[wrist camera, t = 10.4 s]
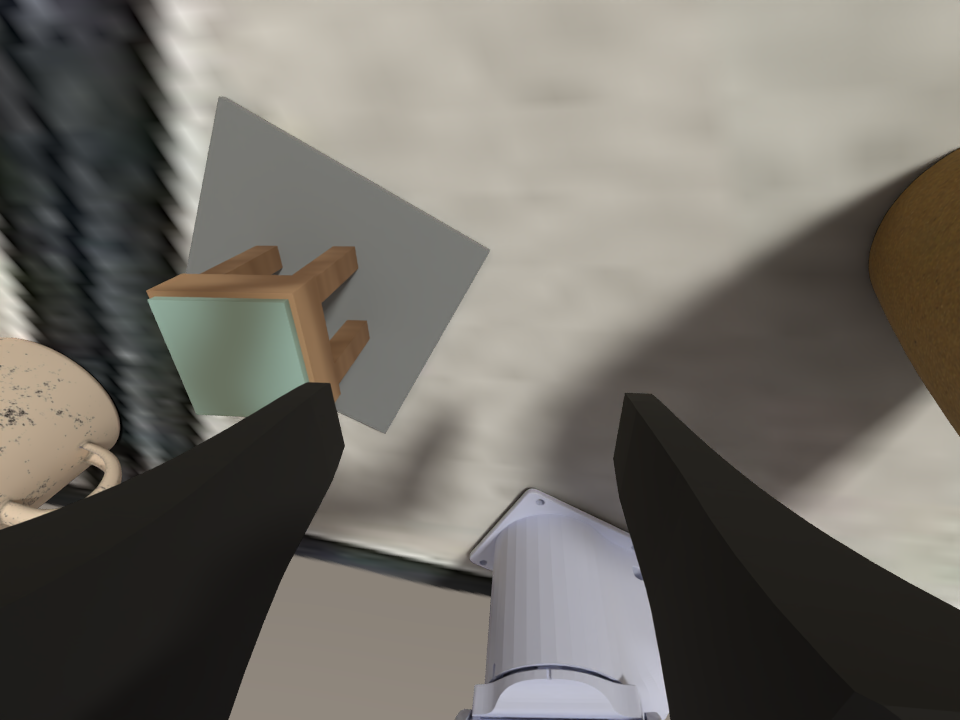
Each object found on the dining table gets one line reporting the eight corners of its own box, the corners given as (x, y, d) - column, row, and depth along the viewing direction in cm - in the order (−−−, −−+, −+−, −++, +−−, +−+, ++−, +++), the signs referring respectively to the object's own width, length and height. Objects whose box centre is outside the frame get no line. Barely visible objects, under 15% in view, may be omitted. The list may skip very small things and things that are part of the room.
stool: (358, 241, 19) (288, 297, 13) (374, 342, 21) (320, 424, 16) (250, 241, 19) (139, 293, 14) (278, 339, 22) (193, 418, 16)
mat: (489, 249, 19) (489, 252, 19) (387, 429, 25) (385, 433, 24) (224, 96, 17) (218, 96, 17) (179, 331, 23) (174, 334, 22)
